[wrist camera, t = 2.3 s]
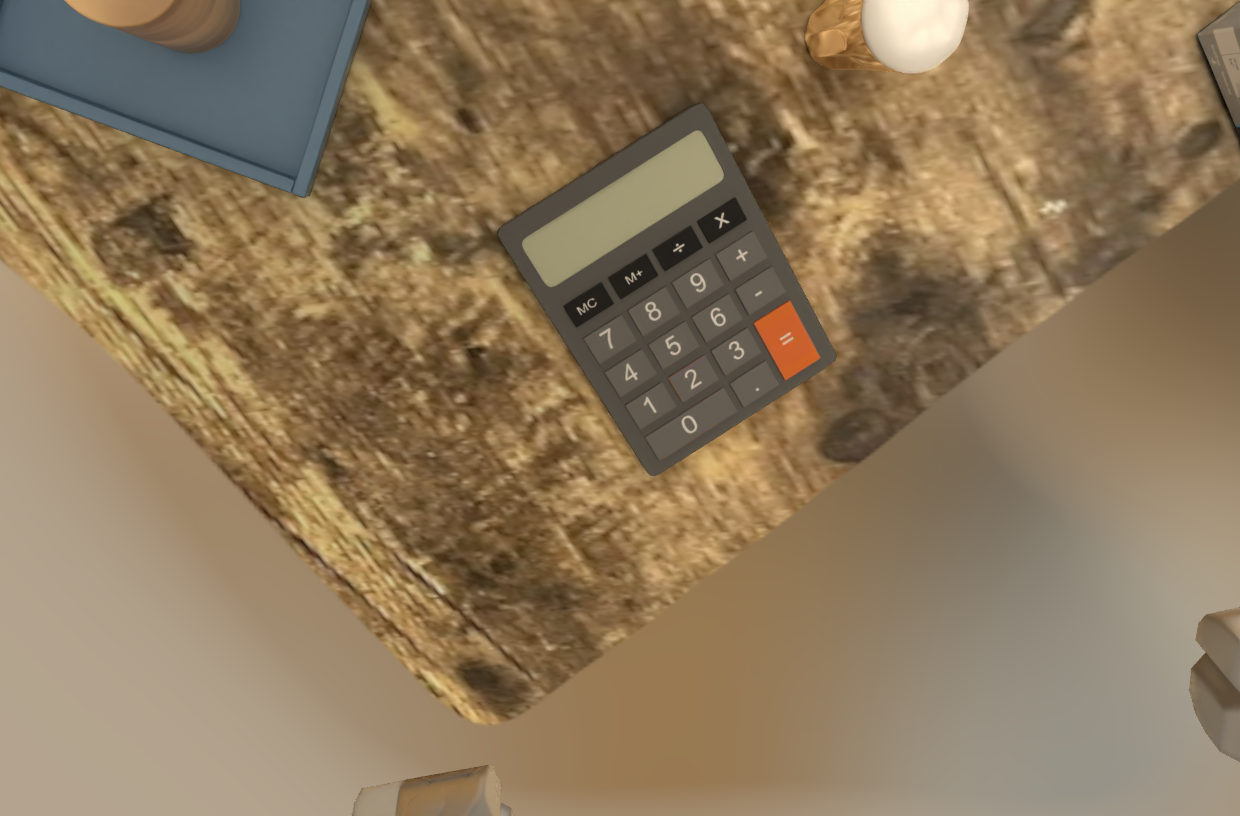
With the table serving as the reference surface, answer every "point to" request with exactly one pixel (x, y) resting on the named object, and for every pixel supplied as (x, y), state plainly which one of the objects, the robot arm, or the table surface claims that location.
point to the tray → (197, 81)
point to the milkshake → (885, 34)
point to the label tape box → (1225, 57)
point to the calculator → (670, 289)
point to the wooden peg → (167, 20)
